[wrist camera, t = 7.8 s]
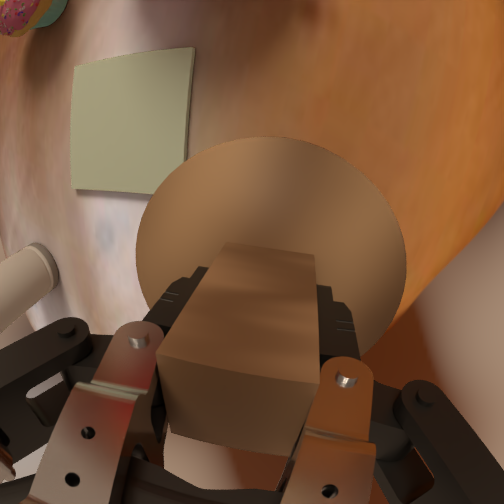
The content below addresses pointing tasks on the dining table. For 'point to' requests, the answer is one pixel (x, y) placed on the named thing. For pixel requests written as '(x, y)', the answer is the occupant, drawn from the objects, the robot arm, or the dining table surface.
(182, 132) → the trivet
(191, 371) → the lid
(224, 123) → the dining table surface
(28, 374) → the robot arm
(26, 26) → the cupcake
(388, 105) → the dining table surface
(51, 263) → the travel mug
